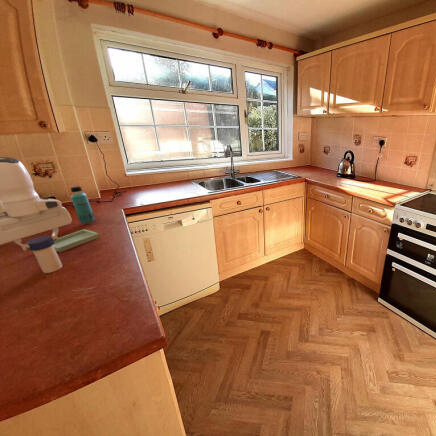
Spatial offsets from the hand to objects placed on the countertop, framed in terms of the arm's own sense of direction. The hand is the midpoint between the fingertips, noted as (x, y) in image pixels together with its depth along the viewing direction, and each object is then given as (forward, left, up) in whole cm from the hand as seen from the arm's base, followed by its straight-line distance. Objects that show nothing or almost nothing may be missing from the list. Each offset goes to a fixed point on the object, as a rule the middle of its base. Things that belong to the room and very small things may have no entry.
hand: (41, 244), depth 85 cm
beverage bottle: (+30, +37, -10) cm, 49 cm away
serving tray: (+15, +19, -10) cm, 26 cm away
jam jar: (0, 0, -10) cm, 10 cm away
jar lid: (0, 0, +2) cm, 2 cm away
